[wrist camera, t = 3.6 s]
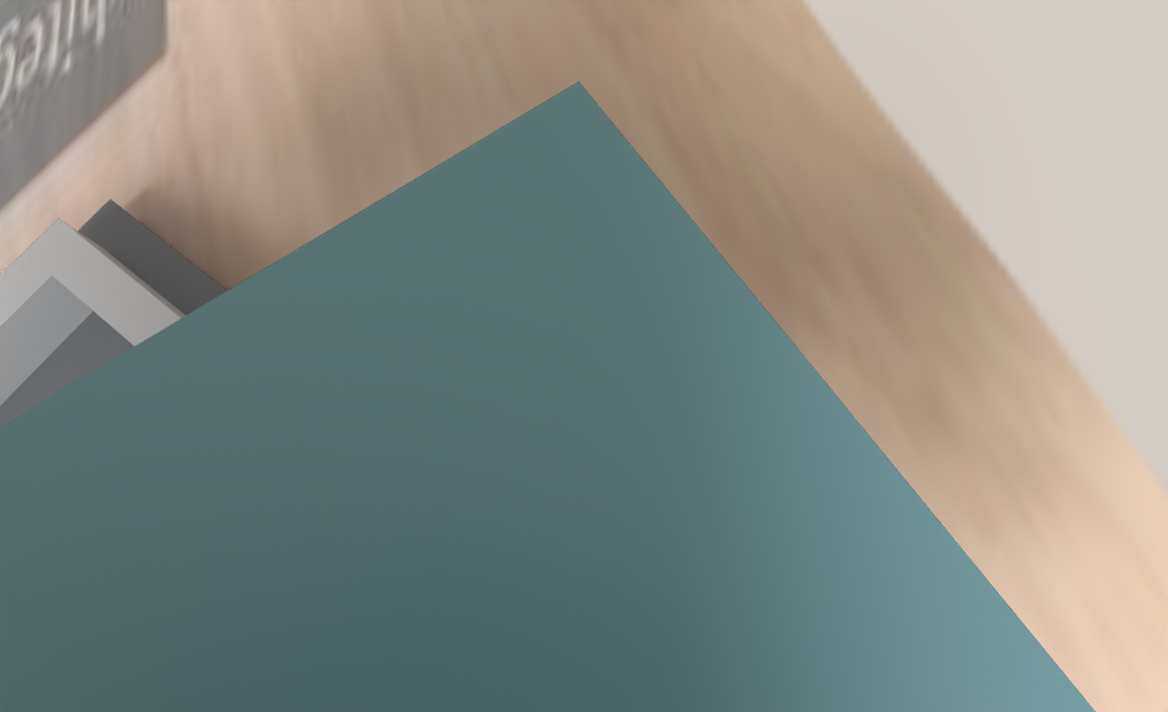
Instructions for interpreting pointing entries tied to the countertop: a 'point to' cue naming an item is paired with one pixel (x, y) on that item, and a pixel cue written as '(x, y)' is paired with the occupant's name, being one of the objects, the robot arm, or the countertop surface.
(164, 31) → the countertop surface
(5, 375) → the seat plate
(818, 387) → the block
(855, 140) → the countertop surface
